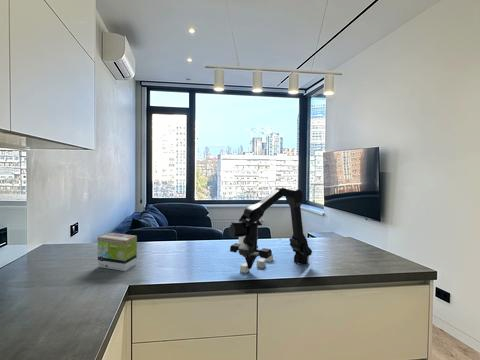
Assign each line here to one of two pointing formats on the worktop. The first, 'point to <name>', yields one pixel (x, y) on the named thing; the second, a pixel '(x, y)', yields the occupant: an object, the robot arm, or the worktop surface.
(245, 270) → the near slider
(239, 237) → the white cup
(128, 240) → the tea box
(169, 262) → the worktop surface
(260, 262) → the middle slider
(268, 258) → the block
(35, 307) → the worktop surface
